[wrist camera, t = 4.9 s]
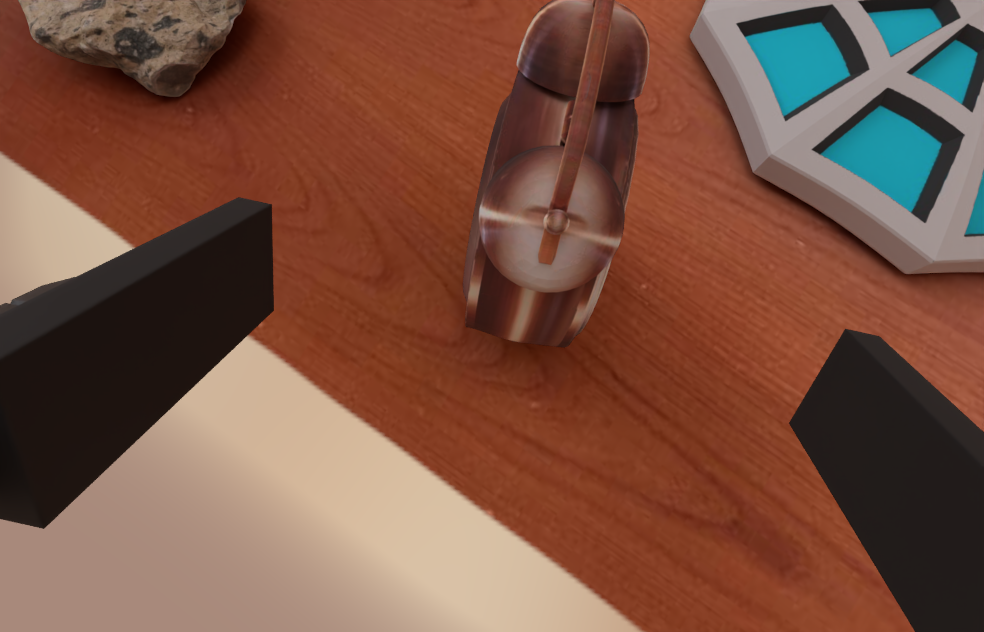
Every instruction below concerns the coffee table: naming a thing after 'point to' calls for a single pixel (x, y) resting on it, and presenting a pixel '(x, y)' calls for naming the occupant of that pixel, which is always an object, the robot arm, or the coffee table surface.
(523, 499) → the coffee table surface
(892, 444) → the robot arm
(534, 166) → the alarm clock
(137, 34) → the rock
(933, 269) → the decorative platform
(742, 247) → the coffee table surface
